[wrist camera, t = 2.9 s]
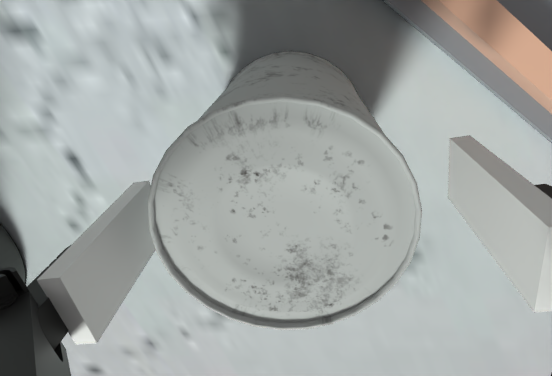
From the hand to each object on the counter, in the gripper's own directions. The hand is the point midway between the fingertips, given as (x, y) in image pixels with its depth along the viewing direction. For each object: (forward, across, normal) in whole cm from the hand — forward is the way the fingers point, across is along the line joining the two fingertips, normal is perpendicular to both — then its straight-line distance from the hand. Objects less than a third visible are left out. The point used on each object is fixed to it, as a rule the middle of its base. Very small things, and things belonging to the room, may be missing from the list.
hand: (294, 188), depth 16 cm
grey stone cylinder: (+9, -1, 0) cm, 9 cm away
